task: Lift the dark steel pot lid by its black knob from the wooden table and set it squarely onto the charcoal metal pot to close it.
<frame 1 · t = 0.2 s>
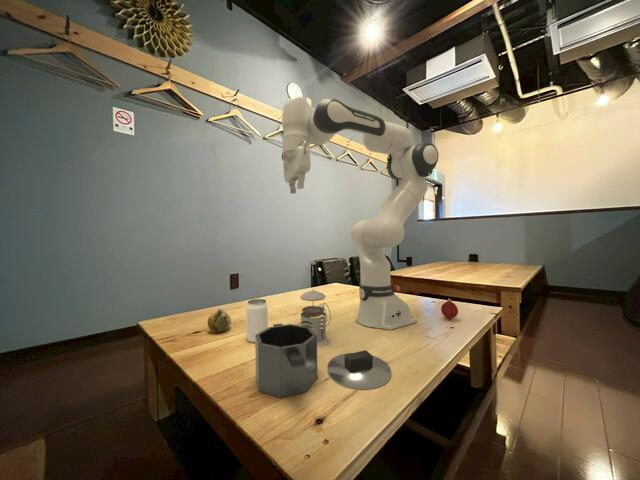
hand: (296, 191, 82), 47 cm above the table, tool pointing down, fingers open, 8 cm apart
pot: (286, 378, 57), on the table
french press: (315, 341, 77), on the table
onion 2: (220, 331, 86), on the table
can: (257, 339, 79), on the table
onion: (449, 320, 95), on the table
lid: (358, 372, 60), on the table
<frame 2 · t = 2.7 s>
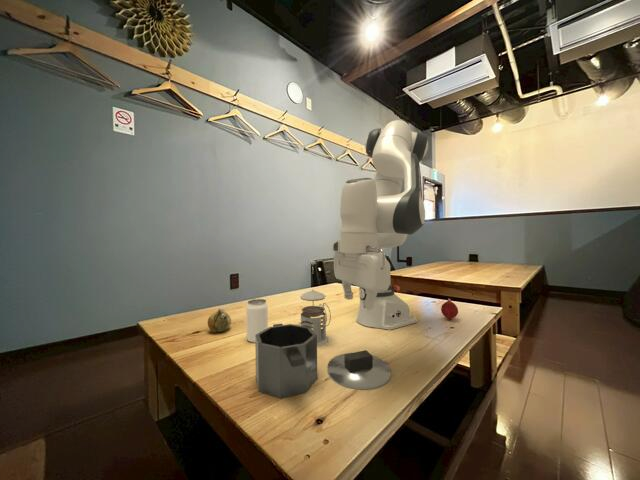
hand: (357, 303, 59), 16 cm above the table, tool pointing down, fingers open, 8 cm apart
nothing on the table moved.
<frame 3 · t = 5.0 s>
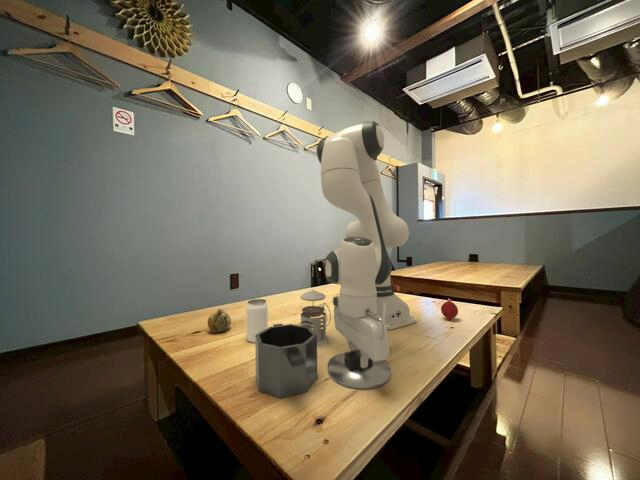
hand: (358, 361, 60), 2 cm above the table, tool pointing down, fingers closed on lid, 3 cm apart
lid: (358, 370, 60), on the table, touching gripper
everything else where it was.
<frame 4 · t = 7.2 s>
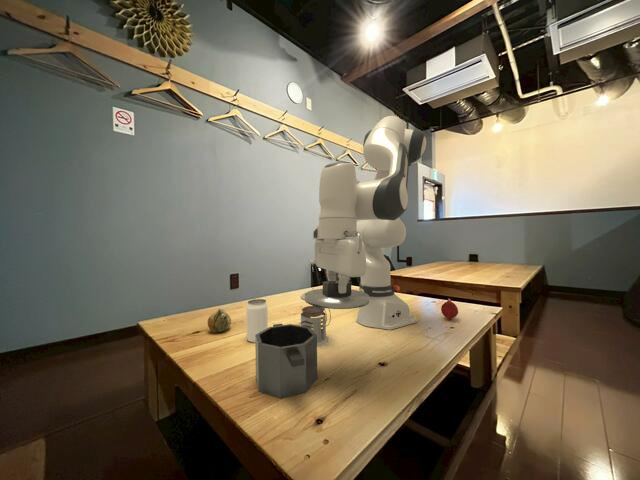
hand: (337, 290, 58), 20 cm above the table, tool pointing down, fingers closed on lid, 3 cm apart
lid: (336, 299, 58), point 18 cm above the table, touching gripper
everything else where it was.
when the fingers open (14 cm above the table, at t = 9.6 s): lid drops 1 cm, resting on pot.
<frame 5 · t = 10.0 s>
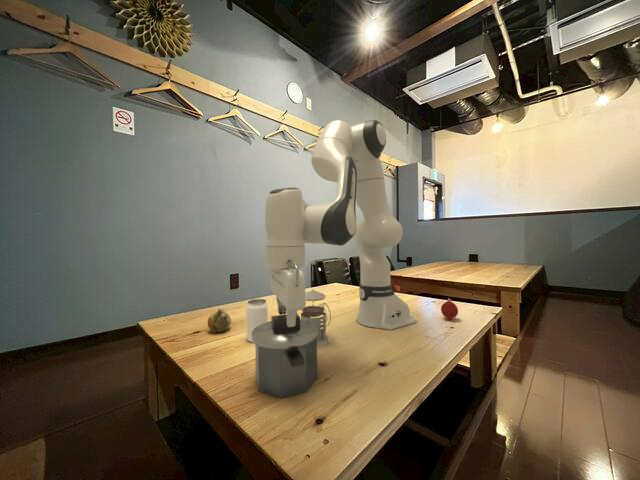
hand: (286, 319, 57), 14 cm above the table, tool pointing down, fingers open, 7 cm apart
lid: (285, 335, 57), point 10 cm above the table, touching pot
everything else where it was.
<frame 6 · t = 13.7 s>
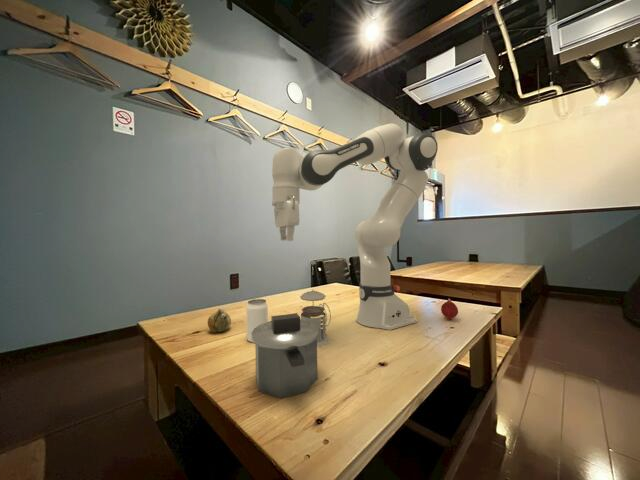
hand: (286, 240, 82), 31 cm above the table, tool pointing down, fingers open, 8 cm apart
nothing on the table moved.
at the end: lid 0.1 cm off-centre on the pot, point 10.0 cm above the pot's base; lid tilted 0°; the gripper is holding nothing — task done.
